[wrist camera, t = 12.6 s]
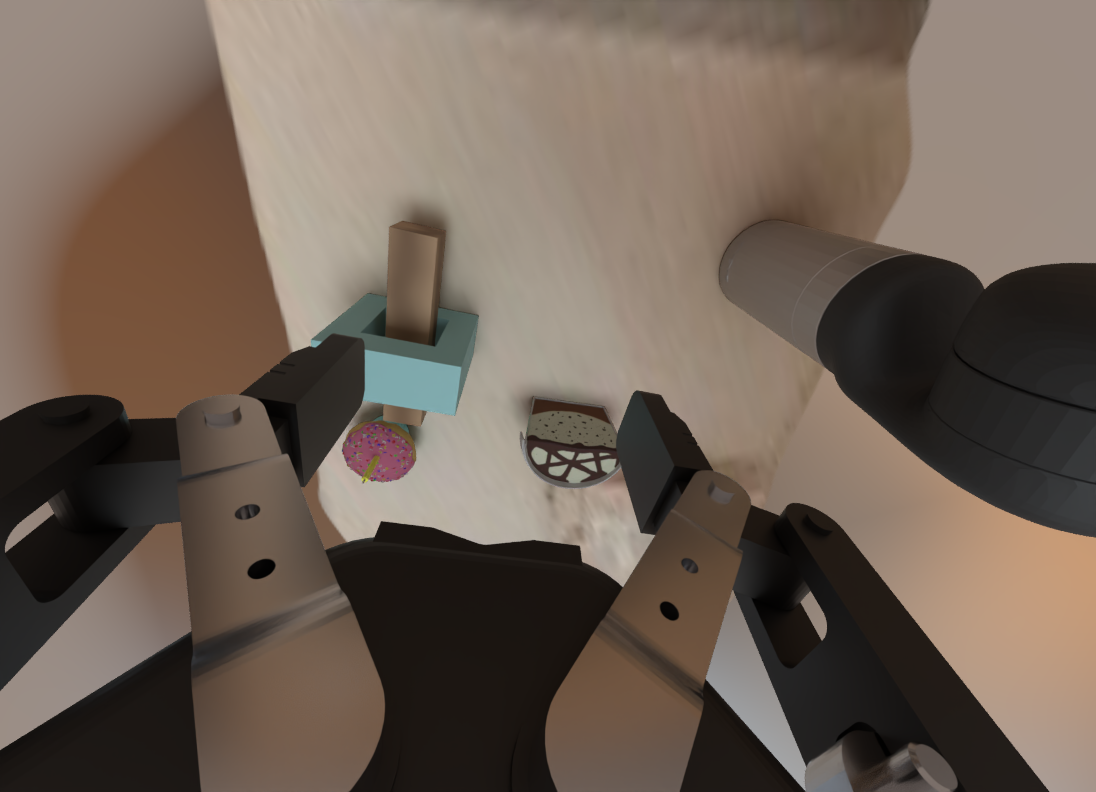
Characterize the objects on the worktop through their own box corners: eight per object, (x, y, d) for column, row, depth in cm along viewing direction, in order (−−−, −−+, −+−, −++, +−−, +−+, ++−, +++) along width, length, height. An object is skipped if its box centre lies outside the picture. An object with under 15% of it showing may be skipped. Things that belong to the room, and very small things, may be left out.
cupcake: (367, 393, 49) (323, 454, 39) (433, 417, 52) (408, 481, 41) (351, 443, 53) (307, 511, 43) (413, 464, 55) (386, 533, 45)
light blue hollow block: (478, 315, 45) (461, 367, 34) (472, 355, 47) (454, 415, 36) (368, 293, 43) (310, 339, 32) (367, 335, 46) (314, 392, 34)
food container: (514, 433, 53) (511, 486, 45) (521, 394, 50) (519, 443, 42) (603, 445, 55) (617, 498, 46) (615, 407, 52) (632, 457, 43)
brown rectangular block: (446, 231, 37) (437, 238, 34) (428, 407, 47) (420, 426, 44) (402, 220, 37) (389, 226, 33) (393, 401, 47) (382, 420, 43)
